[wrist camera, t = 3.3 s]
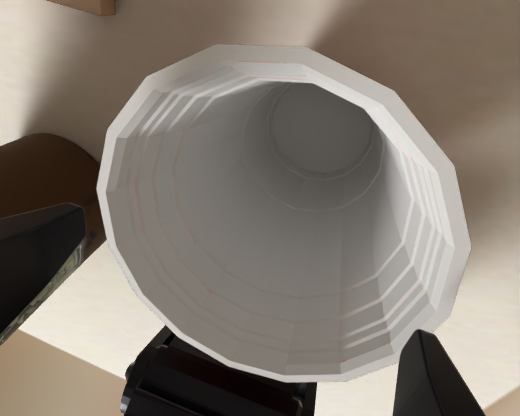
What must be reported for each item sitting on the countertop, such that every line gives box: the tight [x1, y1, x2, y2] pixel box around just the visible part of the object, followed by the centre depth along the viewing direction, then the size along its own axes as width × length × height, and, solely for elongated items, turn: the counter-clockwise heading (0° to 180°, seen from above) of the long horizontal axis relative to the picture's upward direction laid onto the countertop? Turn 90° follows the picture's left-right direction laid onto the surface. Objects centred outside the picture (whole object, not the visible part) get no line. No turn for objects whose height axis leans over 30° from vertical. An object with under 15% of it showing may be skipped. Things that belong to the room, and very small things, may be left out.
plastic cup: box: [96, 44, 471, 382], centre depth 15 cm, size 11×11×12 cm
